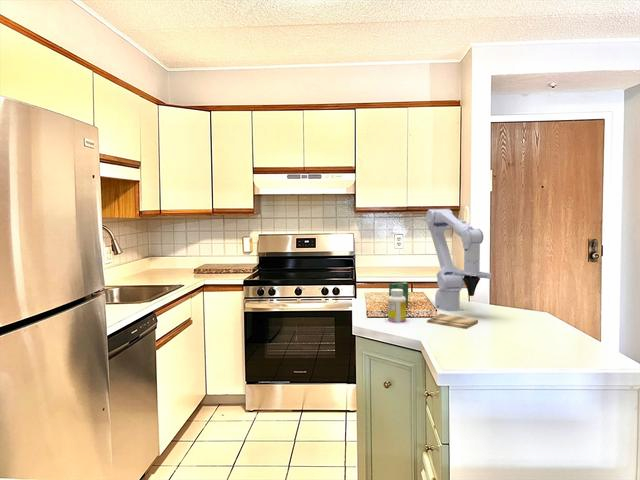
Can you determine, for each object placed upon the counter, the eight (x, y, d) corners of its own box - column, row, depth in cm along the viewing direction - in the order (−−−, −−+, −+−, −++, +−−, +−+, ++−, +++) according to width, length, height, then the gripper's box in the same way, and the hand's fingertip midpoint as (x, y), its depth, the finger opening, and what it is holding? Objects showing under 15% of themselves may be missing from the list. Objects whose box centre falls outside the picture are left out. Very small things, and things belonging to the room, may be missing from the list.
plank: (430, 320, 181) (430, 318, 181) (440, 316, 187) (440, 313, 187) (469, 327, 172) (469, 324, 171) (478, 322, 178) (478, 319, 178)
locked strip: (427, 322, 179) (427, 319, 179) (429, 321, 180) (429, 318, 180) (466, 329, 169) (466, 326, 169) (468, 327, 171) (468, 325, 171)
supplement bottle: (405, 321, 185) (405, 288, 184) (406, 325, 179) (406, 291, 178) (387, 320, 186) (387, 288, 185) (388, 325, 179) (388, 291, 178)
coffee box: (404, 312, 199) (404, 281, 198) (408, 314, 196) (408, 282, 195) (388, 315, 195) (388, 283, 194) (392, 316, 192) (392, 284, 191)
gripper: (449, 260, 186) (449, 294, 187) (486, 263, 177) (486, 299, 178) (457, 258, 192) (456, 292, 193) (493, 261, 183) (492, 296, 184)
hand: (471, 295), depth 186 cm, fingers closed
